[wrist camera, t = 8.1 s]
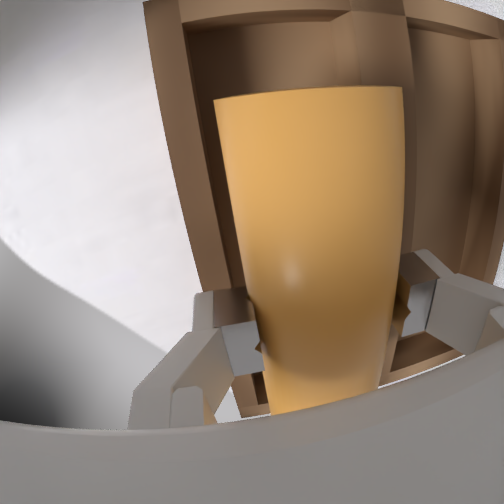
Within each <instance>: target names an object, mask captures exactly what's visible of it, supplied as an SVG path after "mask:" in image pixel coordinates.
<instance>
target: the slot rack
mask: <svg viewBox="0 0 504 504" xmlns="http://www.w3.org/2000/svg"><path fill="white" fill-rule="evenodd" d="M143 8H144V15H145V22H146V29H147V36H148V42H149V48H150V55H151V61H152V67H153V73H154V78H155V84H156V89H157V95H158V100H159V106H160V111H161V116H162V121H163V126H164V131H165V136H166V141H167V146H168V150H169V155H170V160H171V164H172V169H173V173H174V178H175V182H176V187H177V191H178V195H179V200H180V204H181V208H182V212H183V216H184V221H185V225H186V229H187V233H188V237H189V241H190V245H191V249H192V252H193V256H194V260H195V264H196V268H197V272H198V275H199V279H200V283H201V286H202V290H203V292H207V291H214V290H219V289H226V288H232V287H239V286H245V285H246V282H245V277H244V271H243V266H242V260H241V255H240V250H239V244H238V239H237V233H236V227H235V222H234V216H233V211H232V205H231V200H230V194H229V188H228V183H227V177H226V171H225V165H224V160H223V154H222V148H221V142H220V137H219V131H218V125H217V119H216V113H215V107H214V101H213V100H216V99H220V98H225V97H231V96H237V95H243V94H250V93H257V92H264V91H273V90H282V89H292V88H304V87H320V86H348V85H373V86H397V87H402V93H403V108H404V130H405V189H404V213H403V228H402V241H401V252H400V255H402V254H406V253H410V252H413V251H417V250H420V249H427V250H429V251H430V252H431V253H432V254H433V255H434V256H436V257H437V258H438V259H439V260H440V261H441V262H442V263H443V264H444V265H445V266H446V267H448V268H449V269H450V270H451V271H452V272H453V273H454V274H457V273H459V274H462V275H465V276H468V277H471V278H474V279H477V280H480V281H483V282H486V283H489V284H492V285H493V282H494V279H495V275H496V272H497V268H498V264H499V260H500V256H501V252H502V247H503V243H504V20H501V19H499V18H496V17H494V16H491V15H488V14H486V13H483V12H480V11H477V10H474V9H471V8H468V7H465V6H462V5H459V4H455V3H452V2H448V1H444V0H149V1H145V2H143ZM392 318H393V317H392ZM462 355H464V354H463V353H461V352H459V351H458V350H456V349H454V348H453V347H451V346H449V345H447V344H446V343H444V342H442V341H441V340H439V339H437V338H436V337H434V336H432V335H431V334H429V333H427V332H426V330H424V331H421V332H418V333H414V334H411V335H407V336H404V337H401V336H400V334H399V333H398V331H397V330H396V328H395V327H394V325H393V324H392V321H391V327H390V332H389V338H388V343H387V348H386V353H385V358H384V363H383V368H382V372H381V376H380V381H379V385H378V387H379V386H382V385H385V384H388V383H391V382H394V381H397V380H400V379H403V378H406V377H408V376H411V375H414V374H417V373H419V372H422V371H425V370H427V369H430V368H433V367H435V366H438V365H440V364H443V363H445V362H447V361H450V360H452V359H455V358H457V357H459V356H462ZM231 387H232V390H233V394H234V397H235V399H236V403H237V406H238V409H239V411H240V415H241V418H245V417H252V416H257V415H263V414H269V413H270V408H269V403H268V398H267V393H266V388H265V382H264V377H263V372H262V371H260V372H256V373H251V374H245V375H240V376H235V377H234V380H233V382H232V384H231Z"/></svg>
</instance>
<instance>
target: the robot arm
mask: <svg viewBox="0 0 504 504" xmlns="http://www.w3.org/2000/svg"><path fill="white" fill-rule="evenodd" d="M392 317H393V318H392V324H393V325H394V327H395V328H396V330H397V331H398V333H399V334H400V336H401V337H404V336H407V335H411V334H414V333H418V332H421V331H424V330H426V332H427V333H429V334H431V335H432V336H434V337H436V338H437V339H439V340H441V341H442V342H444V343H446V344H447V345H449V346H451V347H453V348H454V349H456V350H458V351H459V352H461V353H463V354H464V355H466V356H465V357H462V358H460V359H458V360H455V361H453V362H451V363H448V364H446V365H443V366H441V367H439V368H436V369H433V370H431V371H428V372H426V373H423V374H420V375H418V376H415V377H412V378H410V379H407V380H404V381H401V382H398V383H395V384H392V385H389V386H386V387H383V388H380V389H377V390H373V391H370V392H367V393H364V394H360V395H357V396H353V397H350V398H346V399H342V400H338V401H335V402H331V403H327V404H323V405H319V406H314V407H310V408H306V409H301V410H296V411H292V412H287V413H282V414H277V415H271V416H266V417H260V418H254V419H247V420H241V421H234V422H227V423H219V424H218V423H217V421H216V419H215V417H214V414H215V412H216V411H217V409H218V407H219V405H220V403H221V402H222V400H223V398H224V396H225V394H226V393H227V391H228V389H229V387H230V386H231V384H232V382H233V380H234V377H235V376H240V375H245V374H251V373H256V372H260V371H265V368H264V362H263V356H262V350H261V345H260V339H259V334H258V328H257V323H256V318H255V312H254V307H253V303H252V302H250V297H249V293H248V290H247V287H246V285H245V286H239V287H232V288H226V289H219V290H214V291H207V292H201V293H196V294H195V296H194V309H193V326H192V332H187V333H186V334H185V335H184V336H183V337H182V338H181V340H180V341H179V342H178V343H177V344H176V345H175V346H174V347H173V348H172V349H171V350H170V352H169V353H168V354H167V355H166V356H165V357H164V358H163V360H161V361H160V362H159V364H158V365H157V366H156V367H155V368H154V369H153V370H152V371H151V372H150V373H149V374H148V376H147V377H146V378H145V379H144V380H143V381H142V382H141V383H140V384H139V385H138V386H137V387H136V389H135V390H134V392H133V397H132V403H131V410H130V416H129V421H128V428H127V430H96V429H95V430H94V429H72V428H57V427H46V426H36V425H27V424H19V423H13V422H6V421H0V504H504V289H503V288H500V287H497V286H494V285H492V284H489V283H486V282H483V281H480V280H477V279H474V278H471V277H468V276H465V275H462V274H459V273H457V274H454V273H453V272H452V271H451V270H450V269H449V268H448V267H446V266H445V265H444V264H443V263H442V262H441V261H440V260H439V259H438V258H437V257H436V256H434V255H433V254H432V253H431V252H430V251H429V250H427V249H420V250H417V251H413V252H410V253H406V254H402V255H400V262H399V271H398V280H397V287H396V295H395V302H394V308H393V315H392Z"/></svg>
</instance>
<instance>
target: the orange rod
mask: <svg viewBox="0 0 504 504" xmlns="http://www.w3.org/2000/svg"><path fill="white" fill-rule="evenodd" d="M213 101H214V107H215V113H216V119H217V125H218V131H219V137H220V142H221V148H222V154H223V160H224V165H225V171H226V177H227V183H228V188H229V194H230V200H231V205H232V211H233V216H234V222H235V227H236V233H237V239H238V244H239V250H240V255H241V260H242V266H243V271H244V277H245V282H246V287H247V290H248V293H249V297H250V302H252V303H253V307H254V312H255V318H256V323H257V328H258V334H259V339H260V345H261V350H262V356H263V362H264V368H265V371H262V372H263V377H264V382H265V388H266V393H267V398H268V403H269V408H270V413H271V415H277V414H282V413H287V412H292V411H296V410H301V409H306V408H310V407H314V406H319V405H323V404H327V403H331V402H335V401H338V400H342V399H346V398H350V397H353V396H357V395H360V394H364V393H367V392H370V391H373V390H377V389H378V385H379V381H380V376H381V372H382V368H383V363H384V358H385V353H386V348H387V343H388V338H389V332H390V327H391V321H392V315H393V308H394V302H395V295H396V287H397V280H398V271H399V262H400V252H401V241H402V228H403V213H404V189H405V130H404V108H403V93H402V87H397V86H373V85H348V86H320V87H304V88H292V89H282V90H273V91H264V92H257V93H250V94H243V95H237V96H231V97H225V98H220V99H216V100H213Z"/></svg>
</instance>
